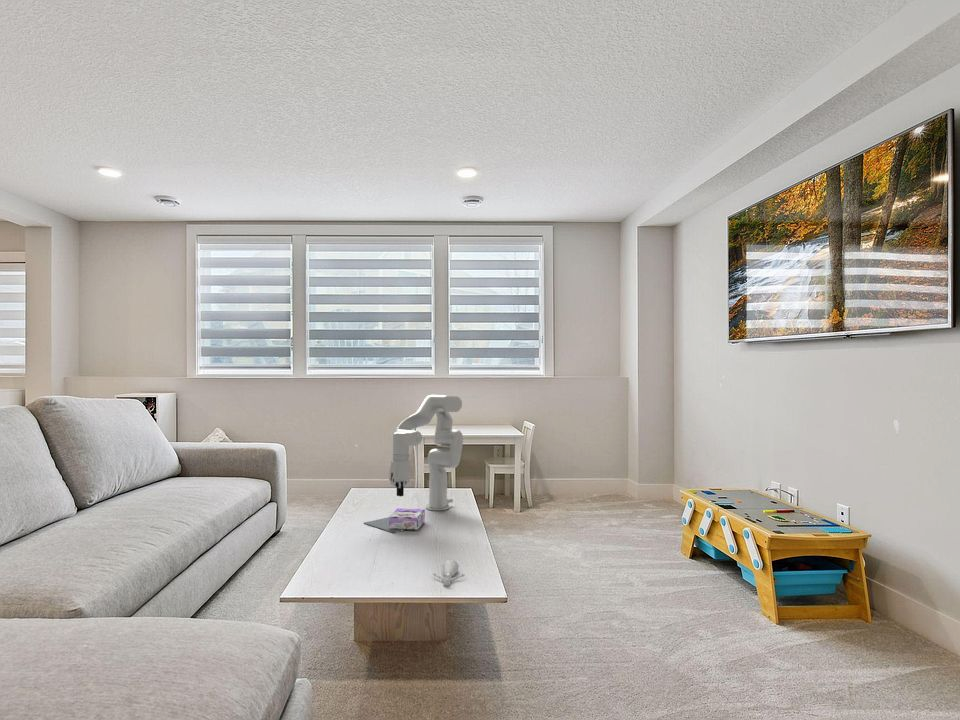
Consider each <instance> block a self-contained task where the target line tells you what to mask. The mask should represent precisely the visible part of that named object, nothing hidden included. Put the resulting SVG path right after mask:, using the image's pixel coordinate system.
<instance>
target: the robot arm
mask: <svg viewBox="0 0 960 720" xmlns="http://www.w3.org/2000/svg"><path fill="white" fill-rule="evenodd" d="M462 406H463V401H462V398H461V397H459V396H457V395H456V396H455V395H446V394H445V395H444V394H430V395H427V396H426V397H425V398H424V400H423V401H422V403H421V405H420V406H419V407H418V408H417V410H416V412H415V413H413V414H411V415H410V416H408V417H406V418H405V419H404V420H402V421H401V422H400V423H399V425H398V426H397V427H396V429H395V430H394V433H393V437H392V460H391V462H390V465H389V474H388V475H389V476H388V479H389V481H390V485H392V486H395V488H396V496H397V497H404V493H405V492H404V490H405V489H404V488H406V485H407V484H408V483H410V482H411V481H410V479H411V475H412V471H411V470H412V469H411V461H410V459H409V458H410V457H411V454H410V453H409V452H410V450H409V449H410V448H409V447H413V446H416V447H417V446H418V445H420V444H421V443H422V440H423V435H422V433H421V432H420V431H419V430H414V429H417V428H420V427H424V426H426V425H428V424H429V423H430V422H431V420H433V418H434V416H436V425H435V426H436V427H435V431H434V438H433V442H434V444H435V445H436V446H438V447H443V448H432V449H430V451H429V452H428V454H427V463H428V468H429V470H428V471H429V475H428V477H429V479H428V480H429V483H428V484H429V485H428V491H429V492H428V504H427V505H426V506H425V509H427V510H429V511H446V510H449V509H450V505H449V504H450V503H453V502H454V499H453V498H448V473H447V470H446V468H448V469H455V468H457V467H458V466H459V464H460V462H461V456H462V451H463V445H464V435H463V433H462V431H460V430H458V429H453V420H454V419H453V418H452V415H451V414H450V413H457V412H459V411H461V409H462ZM446 448H447V449H446ZM448 448H450V449H448Z"/></svg>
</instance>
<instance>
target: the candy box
mask: <svg viewBox="0 0 960 720" xmlns="http://www.w3.org/2000/svg"><path fill="white" fill-rule="evenodd" d="M388 517H389V529H407V530H412V531H413V530H416V531H417V530H419V529H420V528H421V526H422V525H423V524H424V523H425V520H426V518H425V517H426V509H424V508H423V509H421V508H399V507H398V508H396V509H395V510H394V511H393V512H392V513H391V514H390V516H388Z"/></svg>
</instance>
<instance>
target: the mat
mask: <svg viewBox="0 0 960 720" xmlns="http://www.w3.org/2000/svg"><path fill="white" fill-rule="evenodd" d="M389 517H390V516H387V517H384V518H379V519H373V520H370V521H365V522H363V525H366V524H367V525H366V526H369V525H370V526H369V527H372V526H373V528H375V527H377V528H376V529H378V528H380V529H379V530H382V529H383V530H382V531H385V530H386V531H385V532H388V531H389V532H388V533H391V532H392V533H391V534H393V532H394V533H397V531H399V532H402V531H401V530H403V531H406V530H405V529H389Z"/></svg>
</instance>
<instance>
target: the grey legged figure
mask: <svg viewBox="0 0 960 720" xmlns="http://www.w3.org/2000/svg"><path fill="white" fill-rule="evenodd" d="M441 567H442V573H443V576H444V577H443V576H439V575H437V573H436V572H432V575H433V576H434V577H436V578H437V579H440V580H441V581H442V582H443V583H442V584H443V585H442V586H445V587H448V586H451V582H453V581H455V580H457V579H459V578H462V577H463V578H464V577H465V575H466V574H463V573H462V574H461V575H458V576H455V575H456V573H457V572H458V571H459V567H460V565H459V564H458V562H457V561H456V560H455V559H446V560H445V561H443V563H442V565H441ZM454 576H455V577H454Z"/></svg>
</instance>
